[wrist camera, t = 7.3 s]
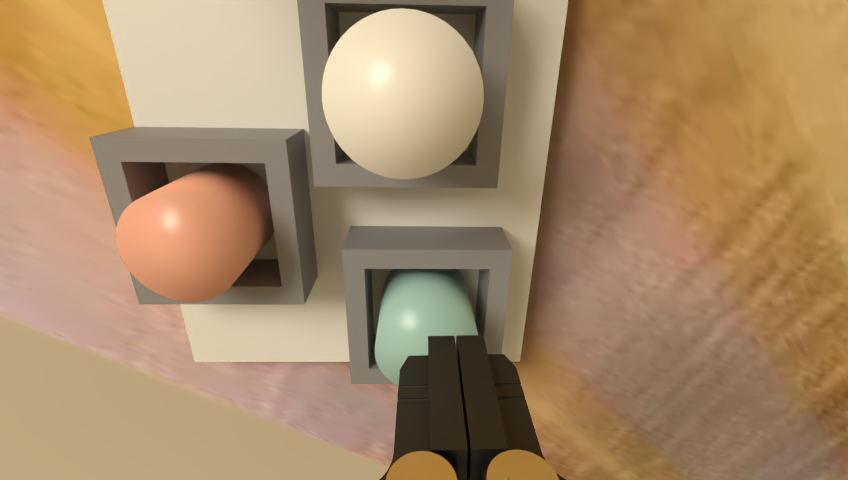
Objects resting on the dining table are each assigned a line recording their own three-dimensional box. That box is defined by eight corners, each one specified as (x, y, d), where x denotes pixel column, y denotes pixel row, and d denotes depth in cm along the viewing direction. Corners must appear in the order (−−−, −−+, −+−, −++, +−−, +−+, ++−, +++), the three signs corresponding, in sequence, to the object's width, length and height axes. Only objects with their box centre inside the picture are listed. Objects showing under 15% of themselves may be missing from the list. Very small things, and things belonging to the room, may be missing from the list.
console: (561, -55, 19) (608, -92, 14) (513, 341, 28) (532, 397, 23) (115, -65, 18) (15, -107, 14) (209, 341, 27) (167, 398, 23)
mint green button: (470, 256, 22) (484, 306, 18) (465, 330, 24) (477, 392, 20) (381, 255, 22) (372, 306, 18) (383, 330, 24) (376, 393, 20)
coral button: (271, 163, 20) (230, 193, 16) (283, 252, 22) (249, 302, 18) (172, 162, 20) (100, 192, 15) (192, 251, 22) (133, 302, 17)
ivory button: (468, 24, 16) (490, 9, 11) (461, 149, 18) (478, 179, 13) (343, 22, 16) (314, 6, 11) (350, 148, 18) (327, 178, 13)
